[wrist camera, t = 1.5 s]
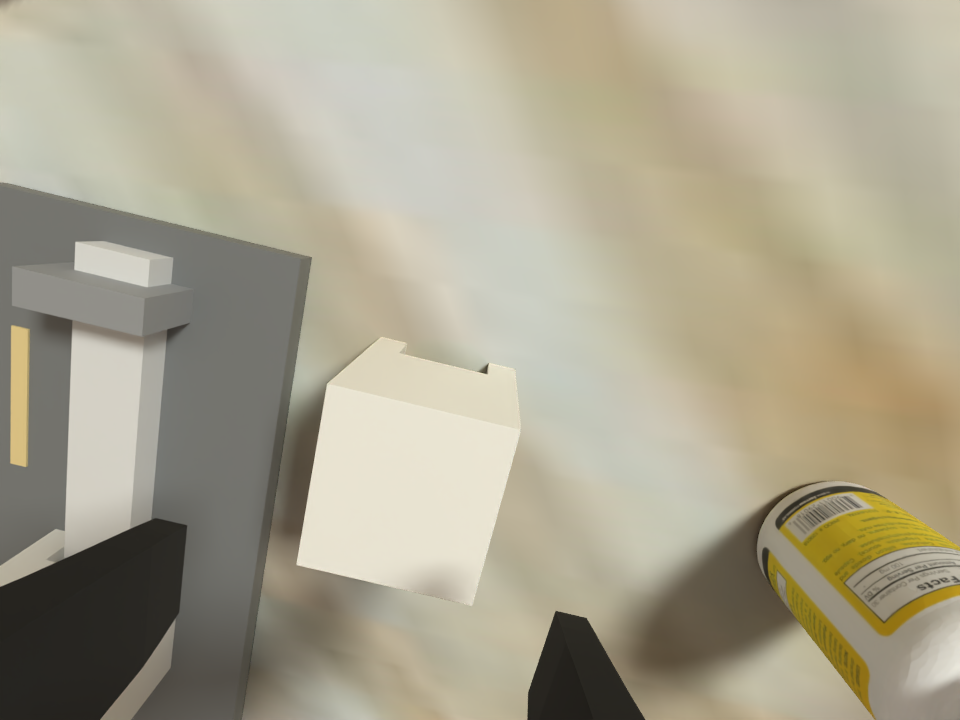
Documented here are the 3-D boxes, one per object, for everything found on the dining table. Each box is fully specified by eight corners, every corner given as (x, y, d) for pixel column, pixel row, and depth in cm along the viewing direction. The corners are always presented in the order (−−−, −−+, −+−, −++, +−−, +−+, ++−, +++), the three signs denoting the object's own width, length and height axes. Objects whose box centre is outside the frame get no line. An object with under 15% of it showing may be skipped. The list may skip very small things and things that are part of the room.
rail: (240, 728, 24) (134, 928, 17) (5, 675, 23) (-198, 856, 17) (311, 257, 18) (198, 272, 11) (6, 183, 18) (-294, 153, 11)
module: (480, 498, 20) (472, 605, 14) (351, 468, 20) (291, 563, 14) (515, 369, 19) (521, 430, 13) (377, 335, 19) (321, 381, 13)
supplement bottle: (854, 613, 21) (1150, 932, 11) (729, 575, 21) (924, 867, 11) (921, 499, 19) (1321, 753, 10) (789, 458, 19) (1068, 677, 10)
